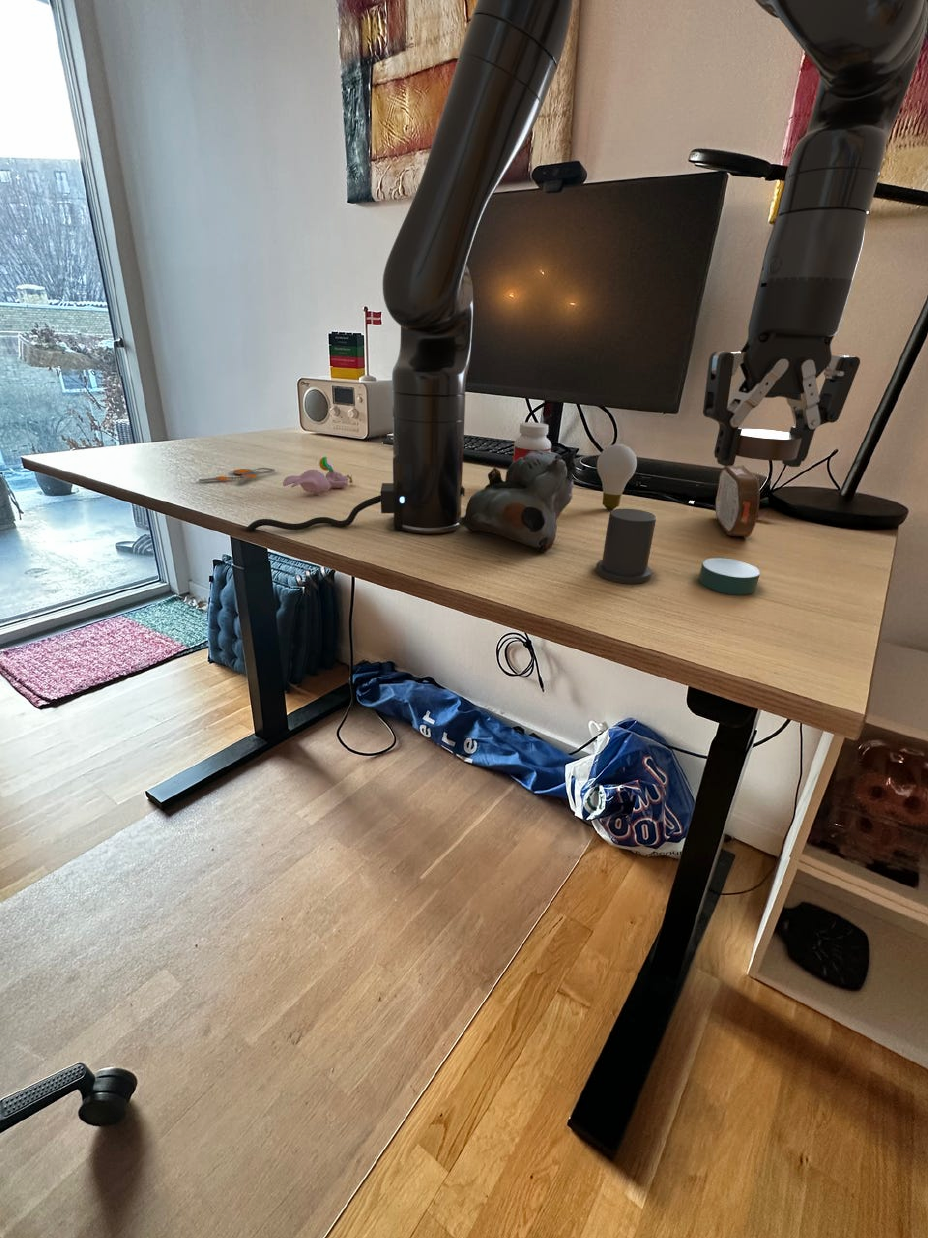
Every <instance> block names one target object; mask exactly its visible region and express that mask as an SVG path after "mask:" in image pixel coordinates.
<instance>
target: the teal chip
mask: <svg viewBox="0 0 928 1238" xmlns="http://www.w3.org/2000/svg"><path fill="white" fill-rule="evenodd" d="M760 574H761V571H760V570H759V568H757V567H756V566H754V565H753V564H750V563H748V562H744V561H741V560H738V559H731V558H722V557H713V558H712V557H711V558H707V559H705V560H703V561H702V563H701V566H700V571H699V575H698V582H699V584H701V585H702V586H704V587H705V588H707V589H709V590H712V591H714V592H717V593H722V594H726V595H727V594H728V595H737V596H740V595H750V594H752V593H754V592H755V591H756V589H757V586H758V583H759V579H760V576H761V575H760Z"/></svg>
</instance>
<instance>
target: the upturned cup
mask: <svg viewBox="0 0 928 1238" xmlns="http://www.w3.org/2000/svg"><path fill="white" fill-rule="evenodd" d="M656 522H657V515H655V514H654V513H651V512H649V511H646V510H642V509H637V508H614V509H613V510H609V514H608V520H607V526H606V527H607V528H606V534H605V541H604V548H603V554H602V559H600V560H598V562H597V563H596V564H595V573H596V574H597V575H598V576H599V577H601V578H602V579H604V580H607V581H610V582H613V583H617V584H625V585H637V584H644V583H646V582H648V581H650V580H651V578H652V574H653V573H652V568H651V567H650V566H649V565H648V564H649V560H650V554H651V549H652V543H653V538H654V534H655V533H654V532H655V529H656Z"/></svg>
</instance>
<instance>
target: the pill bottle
mask: <svg viewBox="0 0 928 1238" xmlns="http://www.w3.org/2000/svg"><path fill="white" fill-rule="evenodd" d="M519 433H520V436H518V437H517V438H516V439H515V440H514V444H513V456H512V463H513V462H514V461H516V460H518V459H519V458H520V457H524V456H525V454H527V453H529V452H530V451H538V450H541V451H549V452H552V451H551V450H552V443H551V440H549V438H547V435H549V424H547V423H542V422H532V421H531V422H529V421H528V422H527V421H526V422H521V423H520V424H519Z"/></svg>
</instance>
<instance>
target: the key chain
mask: <svg viewBox="0 0 928 1238" xmlns="http://www.w3.org/2000/svg"><path fill="white" fill-rule="evenodd" d="M260 470H263V471H260ZM232 472H233V474H235V475H241V476H223V475H221V476H216V477H207V478H200V479H198V481H199V482H207V481H226V480H233V479H234V480H236V479H239V480H237V481H236V483H237V484H242V483H244V482H246V481H248V480H250V479H254V478H256V475H260V474H261V475H262V474H267V473H273V472H276V470H275V469H274V468H268V467H259V468H256V469H248V468H238V469H235V470H233V471H232Z"/></svg>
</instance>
